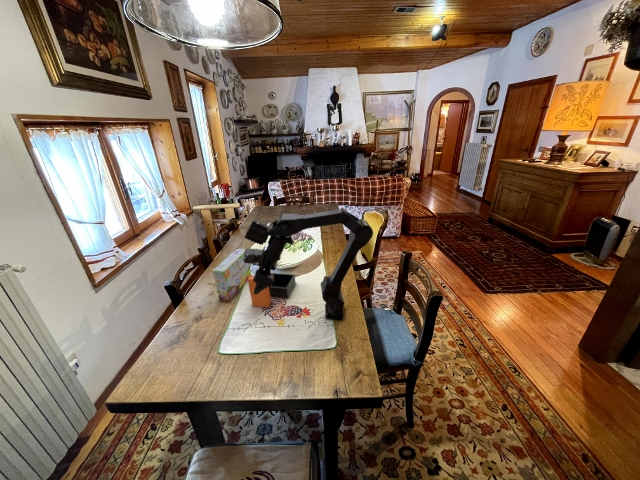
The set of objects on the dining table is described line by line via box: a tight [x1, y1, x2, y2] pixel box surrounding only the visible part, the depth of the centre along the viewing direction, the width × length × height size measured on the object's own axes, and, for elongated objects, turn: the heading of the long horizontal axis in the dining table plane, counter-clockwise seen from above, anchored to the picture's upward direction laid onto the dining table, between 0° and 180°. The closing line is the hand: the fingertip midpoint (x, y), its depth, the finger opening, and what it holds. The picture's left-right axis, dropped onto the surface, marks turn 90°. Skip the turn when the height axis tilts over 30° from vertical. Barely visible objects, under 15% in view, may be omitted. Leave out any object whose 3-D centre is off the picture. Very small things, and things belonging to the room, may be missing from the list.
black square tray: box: [269, 272, 296, 299], centre depth 113 cm, size 11×11×5 cm
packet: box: [247, 274, 272, 309], centre depth 102 cm, size 7×3×13 cm, turn 78°
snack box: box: [212, 248, 252, 302], centre depth 114 cm, size 21×6×15 cm, turn 168°
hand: (256, 286), depth 89 cm, fingers open, 9 cm apart
